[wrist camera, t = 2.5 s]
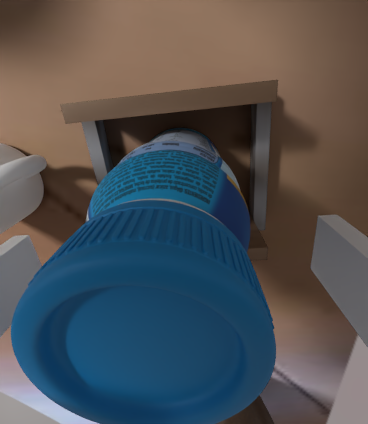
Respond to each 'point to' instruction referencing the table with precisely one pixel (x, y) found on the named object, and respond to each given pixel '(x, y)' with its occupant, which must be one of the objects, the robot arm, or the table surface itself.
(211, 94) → the rack
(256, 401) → the plant pot
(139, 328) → the beverage bottle
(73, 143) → the table surface
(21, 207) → the mug
